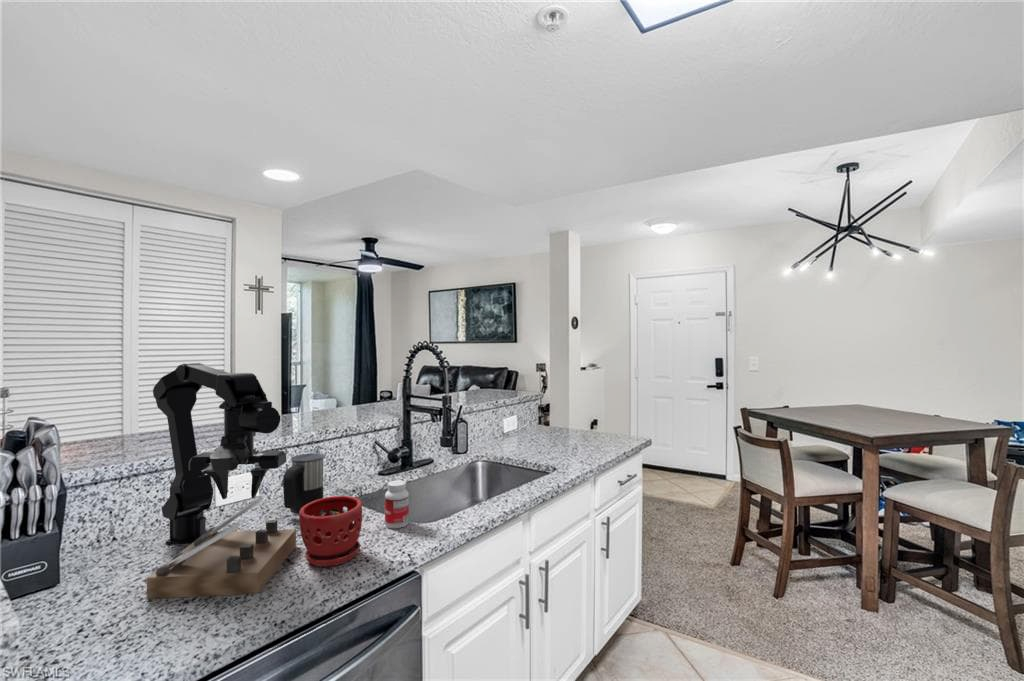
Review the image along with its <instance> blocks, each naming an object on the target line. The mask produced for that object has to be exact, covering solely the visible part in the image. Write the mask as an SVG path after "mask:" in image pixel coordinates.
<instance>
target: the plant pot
mask: <svg viewBox="0 0 1024 681" xmlns="http://www.w3.org/2000/svg"><path fill="white" fill-rule="evenodd" d="M344 508H346V509H347V510H346V511H344ZM332 509H337V510H338V512H339V514H337V515H332V516H331V515H330V512H332V511H331V510H332ZM322 511H324V513H325V514H324V513H323V514H324V515H322V514H321V512H322ZM298 513H299V514H298V515H299V516H298V517H299V521H298V522H299V529H300V534H301V535H300V536H301V538H302V542H303V544H304V547H305V548H306V551H305V554H304V558H305V559H306V561H307V562H308V563H310V564H312V565H313V566H318V567H333V566H337V565H338V566H339V565H342V564H344V563H345V562H349V561H350V560H352V559H354V558H355V556H356V555H357V554H358V553H359V551H360V548H361V544H360V542H359V541H358V540H359V537H360V535H361V530H362V523H363V506H362V501H361V499H360V498H357V497H355V496H350V495H337V496H336V495H335V496H334V495H333V496H327V497H323V498H322V499H318V500H315V501H313V502H310V503H308V504H306V505H305V506H303V507H302V508H301V509H300V512H298ZM321 515H322V516H321Z"/></svg>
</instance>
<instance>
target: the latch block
mask: <svg viewBox="0 0 1024 681" xmlns="http://www.w3.org/2000/svg"><path fill="white" fill-rule="evenodd" d="M216 527H217V526H215V527H214V526H213V527H210V529H209V530H208V529H207V532H206V533H205V534H204V535H202V536H201V537H199V538H198V539H197V540H195V541H194V542H193V543H190V544H189V545H188V546H186V547H185V548H184V549H182V550H181V551H180V552H178V553H177V554H175V555H174V556H173V557H172V558H171V559H170V560H168V561H166V563H164V564H163V565H161V566H159V568H157V569H156V570H155V571H154V572H153V573H152V574H150V575H149V576H147V577H146V599H147V600H150V599H151V600H152V599H173V598H174V599H175V598H190V597H191V598H193V597H215V596H216V597H217V596H231V595H233V596H236V595H251V594H252V595H253V594H259V593H260V592H261V590H263V588H264V586H265V585H266V584H267V583H268V582H269V580H270V579H271V578H272V576H274V574H275V573H276V572H277V570H278V569H279V568H280V567H281V565H282V564H283V563H284V561H285V560H286V559H287V558H288V557H289V555H290V554H291V553H292V552H293V551H294V549H295V547H297V529H296V528H294V529H292V528H291V529H289V528H288V529H278V519H272V520H271V519H270V520H267V521H266V522H265V529H258V530H240V531H239V530H237V531H235V530H234V531H233V532H231V533H229V534H228V535H226V536H224V537H222V538H221V539H219V540H217V541H216V542H214V543H212V544H210V545H209V546H207V547H205V548H204V549H202V550H200V551H198V552H197V553H195V554H193V555H192V556H190V557H188V558H186V559H185V560H183V561H181V562H179V563H178V564H176V565H174V566H173V567H171V568H170V567H169V565H167V564H169V563H170V562H171V561H172V560H174V559H175V558H177V557H179V556H180V555H182V554H184V553H186V552H187V551H189V550H191V549H192V548H194V547H196V546H198V545H199V544H201V543H203V542H204V541H206V540H208V539H210V538H211V537H213V536H215V535H217V534H218V533H220V532H221V531H217V532H216V533H214V534H213V535H212V536H210V537H209V538H207V539H205V537H204V536H205V535H206V534H207V533H209V532H210V531H212V530H213V529H215V528H216Z"/></svg>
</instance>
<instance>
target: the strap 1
mask: <svg viewBox="0 0 1024 681" xmlns="http://www.w3.org/2000/svg"><path fill="white" fill-rule="evenodd" d="M240 526H241V524H240V522H239V521H238V522H236V523H234V524H232V525H230V526H229V527H227V528H225V529H224V530H221V531H219V532H220V533H218V534H217V535H215V536H213V537H211V538H210V539H208V540H206V541H204V542H203V543H201V544H199V545H198V546H196V547H194V548H192V549H191V550H189V551H187V552H186V553H184V554H182V555H180V556H179V557H177V558H175V559H174V560H172V561H171V562H170V563H169V564H167V565H169V567H170V568H171V567H173V566H174V565H176V564H178V563H179V562H181V561H183V560H185V559H186V558H188V557H190V556H192V555H193V554H195V553H197V552H198V551H200V550H202V549H204V548H205V547H207V546H209V545H210V544H212V543H214V542H216V541H217V540H219V539H221V538H222V537H224V536H226V535H228V534H229V533H231V532H233V531H235V530H236V529H238V528H239V527H240Z"/></svg>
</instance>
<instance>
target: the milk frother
mask: <svg viewBox="0 0 1024 681" xmlns="http://www.w3.org/2000/svg"><path fill="white" fill-rule="evenodd" d="M324 458H325V455H324V454H321V453H303V454H298V455H297V454H296V455H293V456H292V457H290V461H291V466H290V467H289V468H287V470H286V471H285V472H284V475H283V478H282V487H283V488H282V490H283V505H284V508H285V509H289V510H290V511H291V512H293V513H299V512H300V509H301V508H302V507H303V506H305V505H306V504H308V503H310V502H313V501H315V500H318V499H322V498H324ZM331 512H339V511H338V510H337V509H332V510H331Z"/></svg>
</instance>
